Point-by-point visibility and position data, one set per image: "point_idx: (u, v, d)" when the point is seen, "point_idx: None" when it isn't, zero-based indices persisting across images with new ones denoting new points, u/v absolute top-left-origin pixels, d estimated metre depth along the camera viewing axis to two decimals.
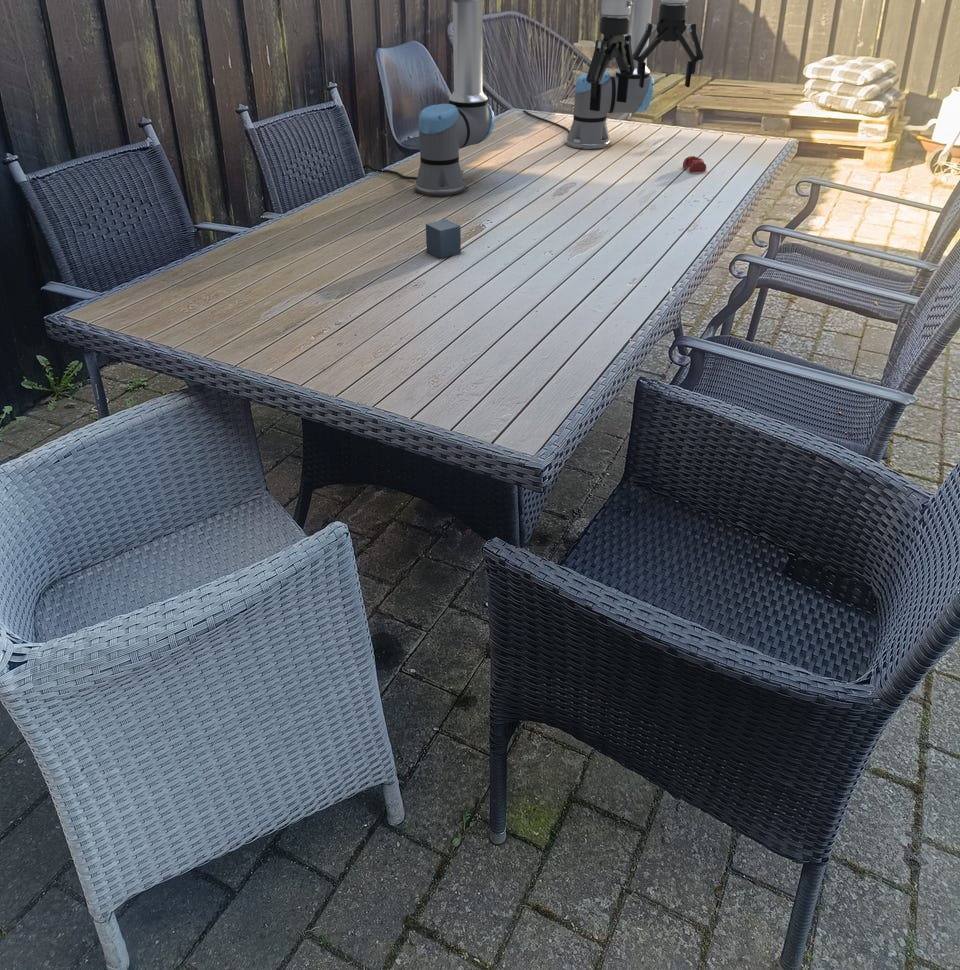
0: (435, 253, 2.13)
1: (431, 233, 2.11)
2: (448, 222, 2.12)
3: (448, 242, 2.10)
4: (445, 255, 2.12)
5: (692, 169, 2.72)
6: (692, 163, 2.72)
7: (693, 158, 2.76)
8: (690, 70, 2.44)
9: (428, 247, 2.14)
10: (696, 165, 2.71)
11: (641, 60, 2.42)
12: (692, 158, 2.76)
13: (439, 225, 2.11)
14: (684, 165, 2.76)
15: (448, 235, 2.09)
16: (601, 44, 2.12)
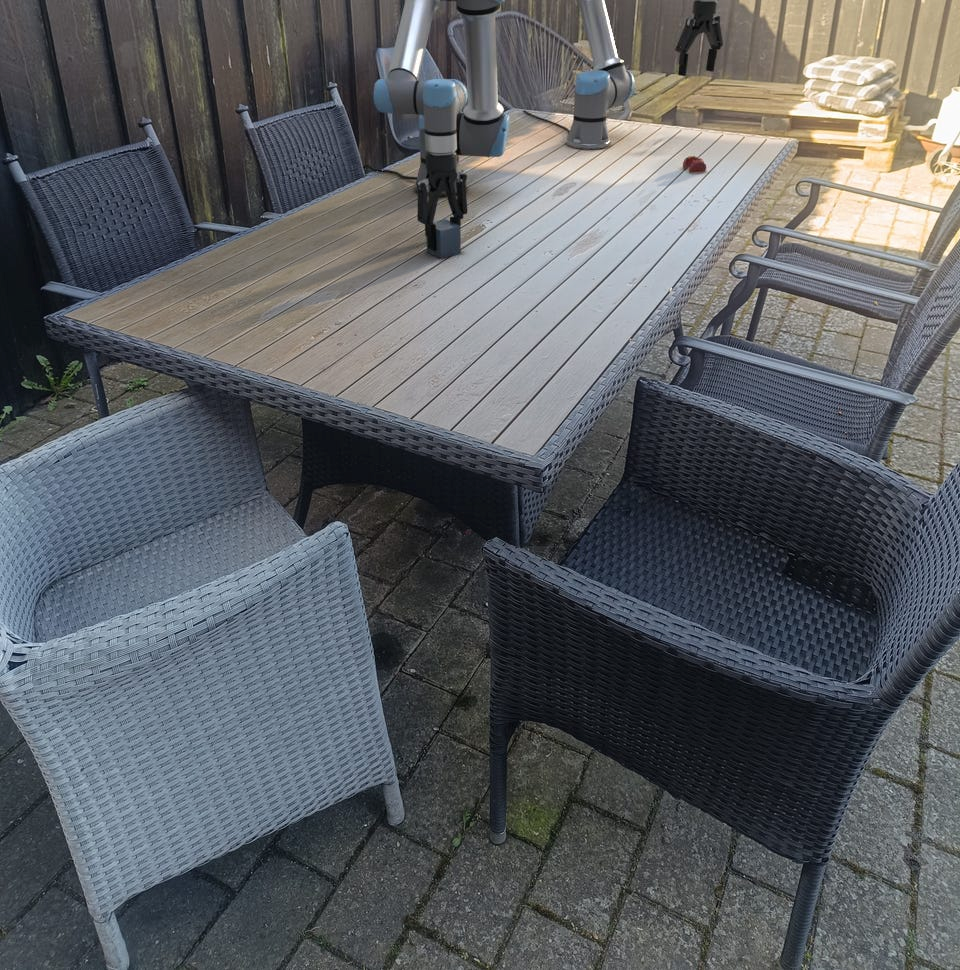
0: (435, 253, 2.13)
1: None
2: (448, 222, 2.12)
3: (448, 242, 2.10)
4: (445, 255, 2.12)
5: (692, 169, 2.72)
6: (692, 163, 2.72)
7: (693, 158, 2.76)
8: None
9: None
10: (696, 165, 2.71)
11: None
12: (692, 158, 2.76)
13: (440, 225, 2.11)
14: (684, 165, 2.76)
15: (448, 235, 2.09)
16: None
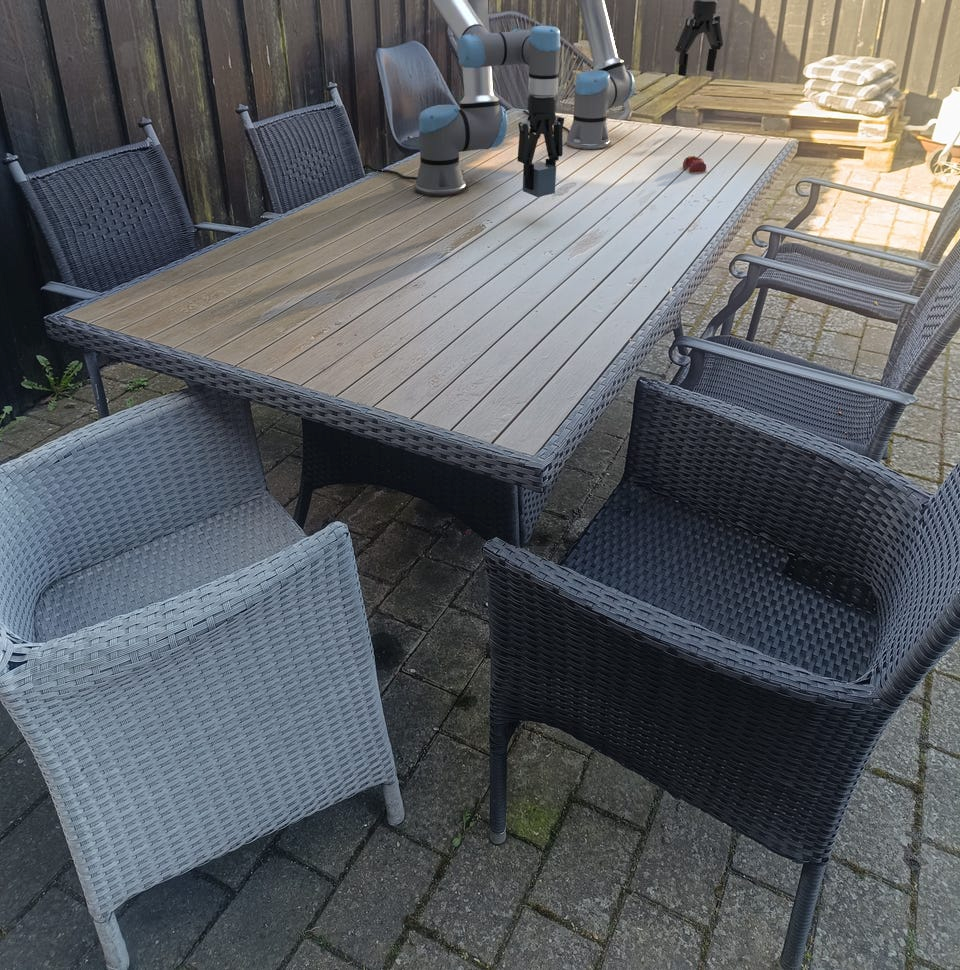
0: (531, 192, 2.28)
1: None
2: (544, 163, 2.28)
3: (544, 182, 2.26)
4: (541, 194, 2.27)
5: (692, 169, 2.72)
6: (692, 163, 2.72)
7: (693, 158, 2.76)
8: None
9: (524, 187, 2.30)
10: (696, 165, 2.71)
11: None
12: (692, 158, 2.76)
13: (537, 166, 2.26)
14: (684, 165, 2.76)
15: (544, 175, 2.25)
16: None
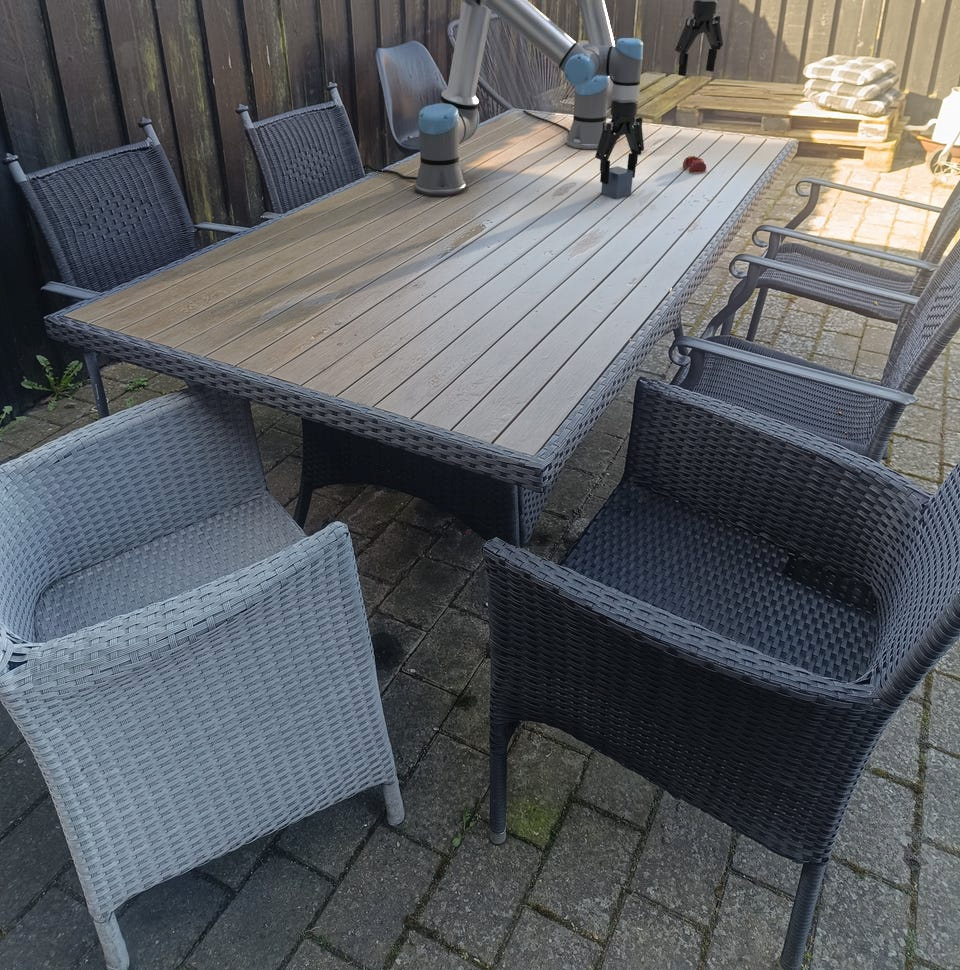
0: (610, 194, 2.52)
1: None
2: (621, 168, 2.52)
3: (622, 185, 2.50)
4: (619, 196, 2.52)
5: (692, 169, 2.72)
6: (692, 163, 2.72)
7: (693, 158, 2.76)
8: None
9: (603, 190, 2.54)
10: (696, 165, 2.71)
11: None
12: (692, 158, 2.76)
13: (615, 170, 2.50)
14: (684, 165, 2.76)
15: (623, 179, 2.49)
16: None
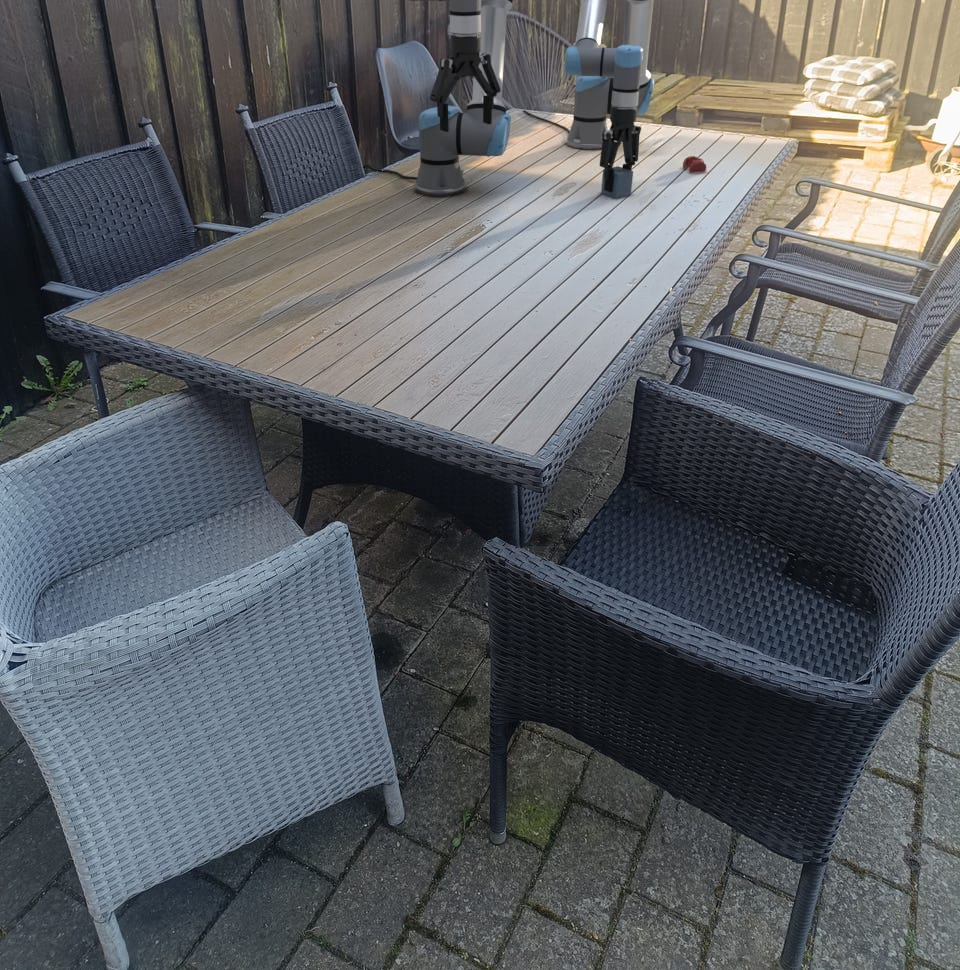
0: (610, 194, 2.52)
1: None
2: (621, 168, 2.52)
3: (622, 185, 2.50)
4: (619, 196, 2.52)
5: (692, 169, 2.72)
6: (692, 163, 2.72)
7: (693, 158, 2.76)
8: None
9: (603, 190, 2.54)
10: (696, 165, 2.71)
11: None
12: (692, 158, 2.76)
13: (615, 170, 2.50)
14: (684, 165, 2.76)
15: (623, 179, 2.49)
16: None
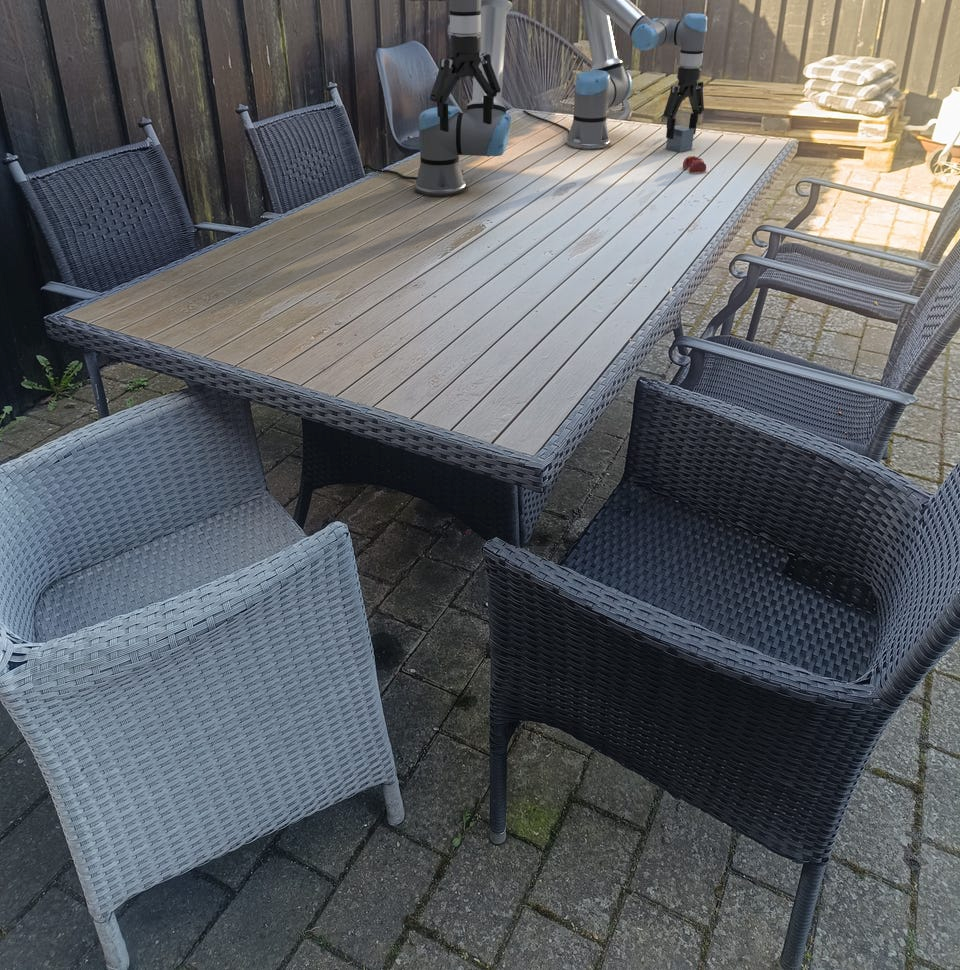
0: (674, 149, 2.96)
1: None
2: (684, 126, 2.95)
3: (685, 140, 2.93)
4: (682, 150, 2.95)
5: (692, 169, 2.72)
6: (692, 163, 2.72)
7: (693, 158, 2.76)
8: None
9: (668, 145, 2.97)
10: (696, 165, 2.71)
11: None
12: (692, 158, 2.76)
13: (679, 128, 2.93)
14: (684, 165, 2.76)
15: (686, 135, 2.92)
16: None
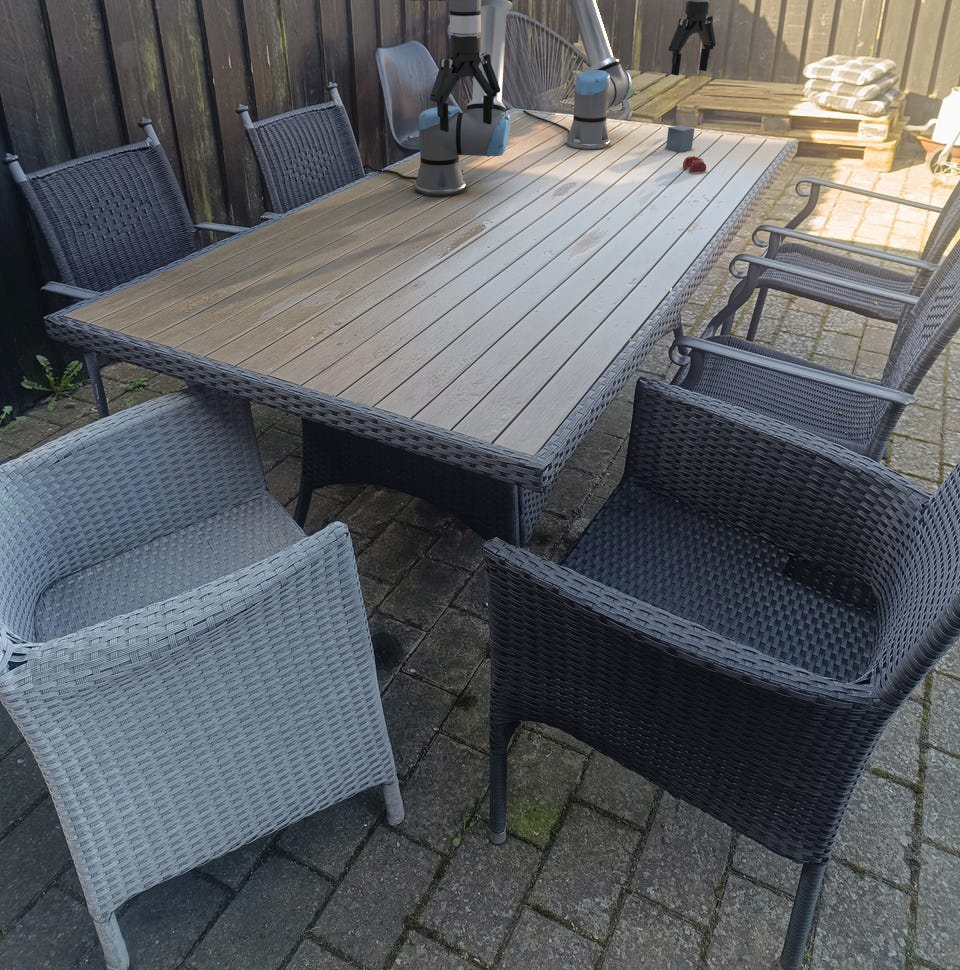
0: (674, 149, 2.96)
1: (672, 133, 2.94)
2: (684, 126, 2.95)
3: (685, 140, 2.93)
4: (682, 150, 2.95)
5: (692, 169, 2.72)
6: (692, 163, 2.72)
7: (693, 158, 2.76)
8: None
9: (668, 145, 2.97)
10: (696, 165, 2.71)
11: None
12: (692, 158, 2.76)
13: (679, 128, 2.93)
14: (684, 165, 2.76)
15: (686, 135, 2.92)
16: None
